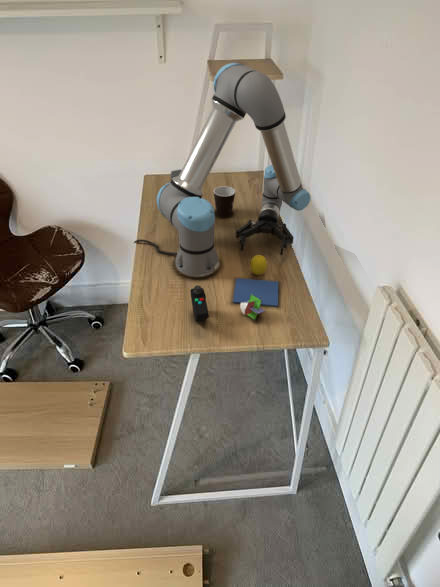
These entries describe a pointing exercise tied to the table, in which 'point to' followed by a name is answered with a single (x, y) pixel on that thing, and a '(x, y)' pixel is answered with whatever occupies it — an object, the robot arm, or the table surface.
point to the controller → (199, 304)
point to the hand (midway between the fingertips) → (261, 249)
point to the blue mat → (256, 291)
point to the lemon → (258, 264)
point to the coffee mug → (224, 200)
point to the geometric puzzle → (252, 307)
